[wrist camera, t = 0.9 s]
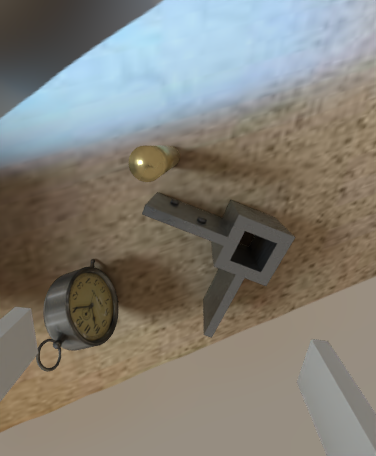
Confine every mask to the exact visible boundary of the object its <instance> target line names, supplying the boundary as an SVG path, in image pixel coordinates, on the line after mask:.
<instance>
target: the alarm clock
mask: <svg viewBox="0 0 376 456" xmlns="http://www.w3.org/2000/svg"><path fill="white" fill-rule="evenodd" d="M94 262H95V260H94V259H92V260H91V266H90V267H85V268H82V269H80V270H77V271H74V272H71V273H68V274H65V275H63V276H61V277H59V278H58V279H57V280H56V281H55V282H54V283H53V284H52V285H51V287H50V289H49V290H48V292H47V295H46V298H45V302H44V322H45V326H46V329H47V331H48V333H49V335H50V337H51V338H52V339H47V340H45V341H43V342H42V343H41V344H40V345H39V347H38V354H37V355H36V360H37V363H38V365H39V367H40V368H41V369H42V370H44V371H52V370H54V369H55V368H56V367H57V366H58V365H59V362H60V360H61V348H60V347H62V348H64V349H67V350H80V349H85V348H89V347H93V346H98V345H101V344H103V343H105V342H106V341H107V340H108V339H109V338H110V337H111V335H112V334H113V332H114V330H115V327H116V324H117V320H118V300H117V295H116V291H115V289H114V286H113V284H112V283H111V281H110V279H109V278H108V277H107V276H106V275H105V274H104V273H103V272H102V271H101V270H99V269H97V268H94ZM49 341H51V342H53V347H54V348H55V349H58V350H59V358H58V361H57V363H56V365H55V366H54V367H52V368H46V367H44V366H43V365H42V364H41V361H40V350H41V347H42V346H43V344H45V343H46V342H49Z"/></svg>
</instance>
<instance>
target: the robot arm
mask: <svg viewBox="0 0 376 456" xmlns="http://www.w3.org/2000/svg"><path fill="white" fill-rule="evenodd" d="M37 354H38V348H37V342H36V336H35V330H34V323H33V317H32V311H31V308H22V307H14V308H13V309H12V310H11V311H10V312H8V313H7V314H6V315H5V316H4V317H3V318H2V319H0V401H1V400H2V399H3V398H4V396H5V395H6V394H7V392H8V391H9V390H10V389H11V387H12V386H13V385H14V383H15V382H16V381H17V380H18V378H19V377H20V376H21V375H22V373H23V372H24V371H25V369H26V368H27V367H28V366H29V364H30V363H31V362H32V361H33V359H34V358H35V357H36V355H37ZM297 384H298V386H299V389H300V391H301V394H302V396H303V399H304V401H305V404H306V406H307V408H308V411H309V413H310V416H311V418H312V421H313V423H314V426H315V428H316V430H317V433H318V435H319V438H320V440H321V443H322V445H323V448H324V450H325V453H326V455H327V456H376V414H375V412H374V410H373V409H372V407H371V406H370V404H369V403H368V401H367V400H366V398H365V396H364V395H363V394H362V392H361V390H360V389H359V387H358V386H357V384H356V383H355V381H354V380H353V378H352V377H351V375H350V374H349V372H348V371H347V369H346V368H345V366H344V364H343V363H342V361H341V360H340V358H339V357H338V355H337V354H336V352H335V351H334V349H333V348H332V346H331V345H330V343H329V342H328V341H324V340H315V339H311V342H310V345H309V348H308V350H307V353H306V356H305V359H304V362H303V366H302V368H301V371H300V374H299V377H298V380H297Z"/></svg>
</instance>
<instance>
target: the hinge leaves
mask: <svg viewBox="0 0 376 456" xmlns="http://www.w3.org/2000/svg"><path fill="white" fill-rule="evenodd" d="M142 214H143V215H145V216H148V217H150V218H153V219H155V220H158V221H161V222H163V223H166V224H168V225H171V226H174V227H176V228H179V229H181V230H184V231H187V232H189V233H192V234H194V235H197V236H199V237H202V238H205V239H207V240H210V241H211V245H212V255H213V264H214V267H217V268H219V269H218V271H217V273H216V275H215V277H214V279H213V281H212V283H211V285H210V287H209V289H208V291H207V293H206V295H205V297H204V299H203V316H204V335H206V336H208V337H211V338H212V336H213V334H214V333H215V331H216V329H217V327H218V325H219V323H220V322H221V320H222V318H223V316H224V314H225V313H226V311H227V309H228V307H229V305H230V303H231V302H232V300H233V298H234V296H235V294H236V293H237V291H238V289H239V287H240V285H241V283H242V282H243V280H244V278H246V279H249V280H251V281H254V282H256V283H259V284H262V285H264V286H267V284H268V282H269V281H270V279H271V277H272V275H273V274H274V272H275V270H276V269H277V267H278V265H279V264H280V262H281V260H282V259H283V257H284V255H285V254H286V252H287V250H288V249H289V247H290V245H291V244H292V242H293V240H294V239H295V236H294V235H292V234H291V233H290V232H289V231H288V230H287V229H286V228H285V227H284V226H283V225H282V224H281V223H280V222H279V221H278V220H277V219H276V218H275V217H272V216H270V215H267V214H265V213H262V212H260V211H257V210H255V209H252V208H250V207H247V206H245V205H242V204H240V203H238V202H235V201H233V200H230V202H229V204H228V206H227V209H226V211H225V213H224V215H223V217H222V218H221V217H219V216H216V215H214V214H211V213H209V212H206V211H204V210H201V209H199V208H196V207H193V206H191V205H188V204H186V203H183V202H181V201H178V200H176V199H173V198H171V197H168V196H166V195H163V194H161V193H158V192H157V193H156V194H155V195H154V196H153V197H152V198H151V199H150V200H149V201H148V203H147V204H146V205H145V207H144V210H143V213H142ZM245 231H247V232H249V233H252V234H254V237H253V239H252V241H251V243H250V245H249V246H246V245H244V244H241V243H239V242H240V240H241V238H242V236H243V234H244V232H245Z"/></svg>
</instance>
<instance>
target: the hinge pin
mask: <svg viewBox="0 0 376 456" xmlns="http://www.w3.org/2000/svg"><path fill="white" fill-rule="evenodd" d="M179 159H180V154H179V152H178V150H177V149H176V148H175V147H172V146H140V147H138V148H136V149H135V150H134V151H133V152H132V153H131V155H130V157H129V168H130V171H131V173H132V174H133V176H134V177H135V178H137V179H138V180H140V181H143V182H151V181H154V180H156V179H157V178H159V177H160V176H161V175H163V174H164V173H165V172H167V171H168V170H170V169H171V168H172V167H174V166H175V165H176V164H177V163H178V162H179Z"/></svg>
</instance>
